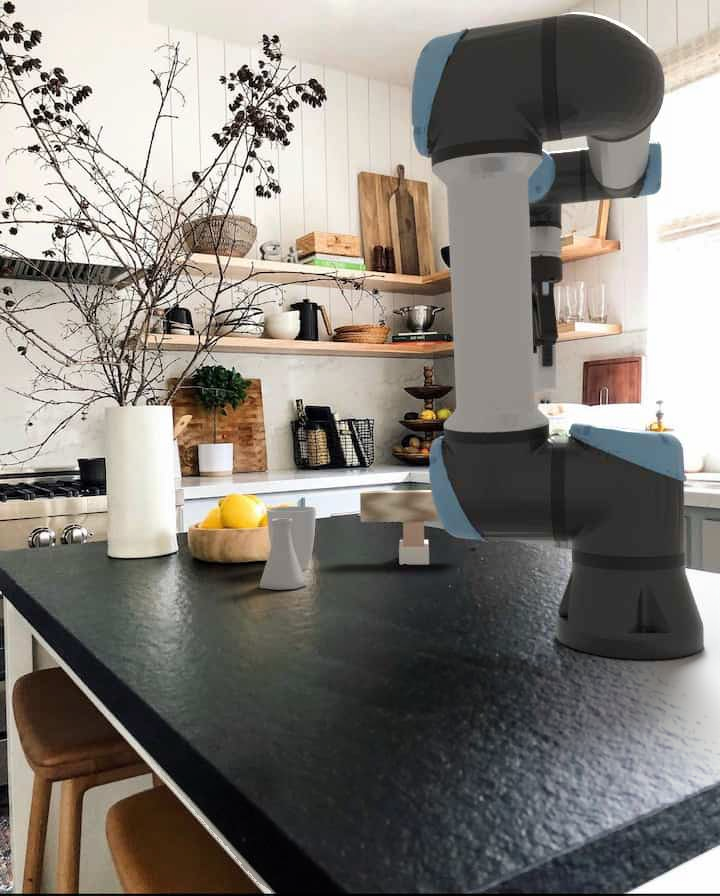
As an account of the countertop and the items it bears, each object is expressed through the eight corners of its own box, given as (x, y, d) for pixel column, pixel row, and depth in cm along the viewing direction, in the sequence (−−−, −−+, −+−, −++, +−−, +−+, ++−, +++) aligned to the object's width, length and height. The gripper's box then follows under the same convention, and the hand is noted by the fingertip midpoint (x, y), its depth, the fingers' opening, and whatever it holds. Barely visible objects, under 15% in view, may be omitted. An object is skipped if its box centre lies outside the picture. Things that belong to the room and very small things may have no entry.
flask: (300, 592, 117) (298, 522, 117) (251, 590, 119) (250, 522, 119) (312, 582, 125) (311, 516, 124) (267, 581, 126) (265, 516, 126)
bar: (464, 518, 143) (464, 489, 143) (466, 520, 139) (465, 491, 139) (362, 519, 144) (361, 491, 144) (360, 522, 140) (360, 493, 140)
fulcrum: (429, 564, 138) (428, 522, 137) (399, 564, 138) (398, 523, 138) (428, 556, 146) (427, 517, 145) (400, 556, 146) (399, 517, 146)
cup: (320, 564, 139) (319, 506, 139) (312, 573, 131) (311, 511, 131) (273, 564, 140) (272, 506, 140) (263, 573, 132) (261, 511, 132)
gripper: (577, 240, 119) (578, 386, 120) (549, 271, 144) (550, 392, 145) (525, 242, 120) (526, 387, 121) (506, 273, 145) (508, 393, 145)
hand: (540, 390), depth 133 cm, fingers open, 13 cm apart
